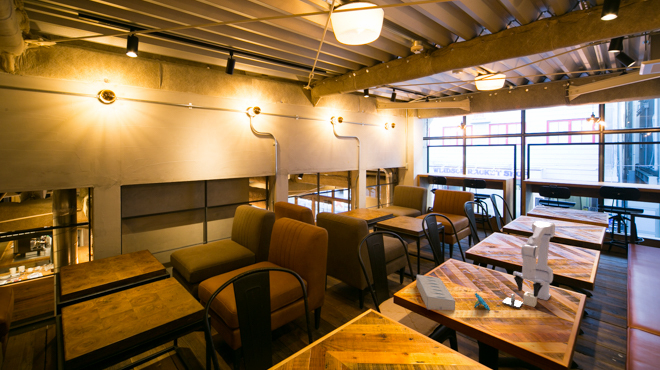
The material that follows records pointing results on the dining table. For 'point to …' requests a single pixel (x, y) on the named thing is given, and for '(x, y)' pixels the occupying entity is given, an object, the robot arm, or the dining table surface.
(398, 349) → the dining table surface
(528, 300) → the square tube cup
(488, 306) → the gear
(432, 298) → the warehouse
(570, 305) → the dining table surface
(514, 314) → the dining table surface
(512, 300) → the shaft block
